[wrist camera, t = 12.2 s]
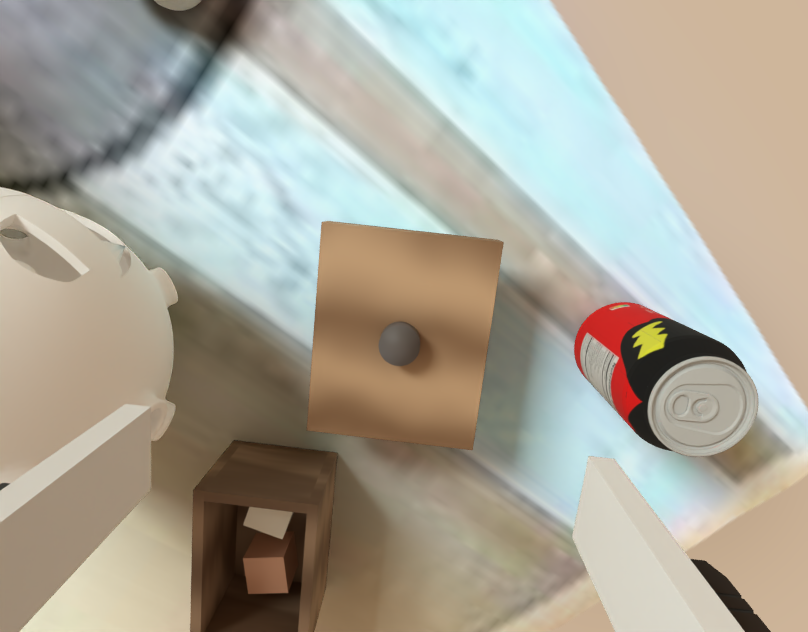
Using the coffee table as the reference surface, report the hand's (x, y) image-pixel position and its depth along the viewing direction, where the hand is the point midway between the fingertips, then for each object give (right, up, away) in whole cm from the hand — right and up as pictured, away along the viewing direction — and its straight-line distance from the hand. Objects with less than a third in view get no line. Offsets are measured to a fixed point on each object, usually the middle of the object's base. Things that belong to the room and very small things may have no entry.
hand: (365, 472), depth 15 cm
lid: (+1, +4, +17) cm, 18 cm away
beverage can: (+16, +3, +21) cm, 27 cm away
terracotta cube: (-9, -14, +25) cm, 30 cm away
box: (-8, -11, +25) cm, 29 cm away
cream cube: (-8, -9, +24) cm, 27 cm away
